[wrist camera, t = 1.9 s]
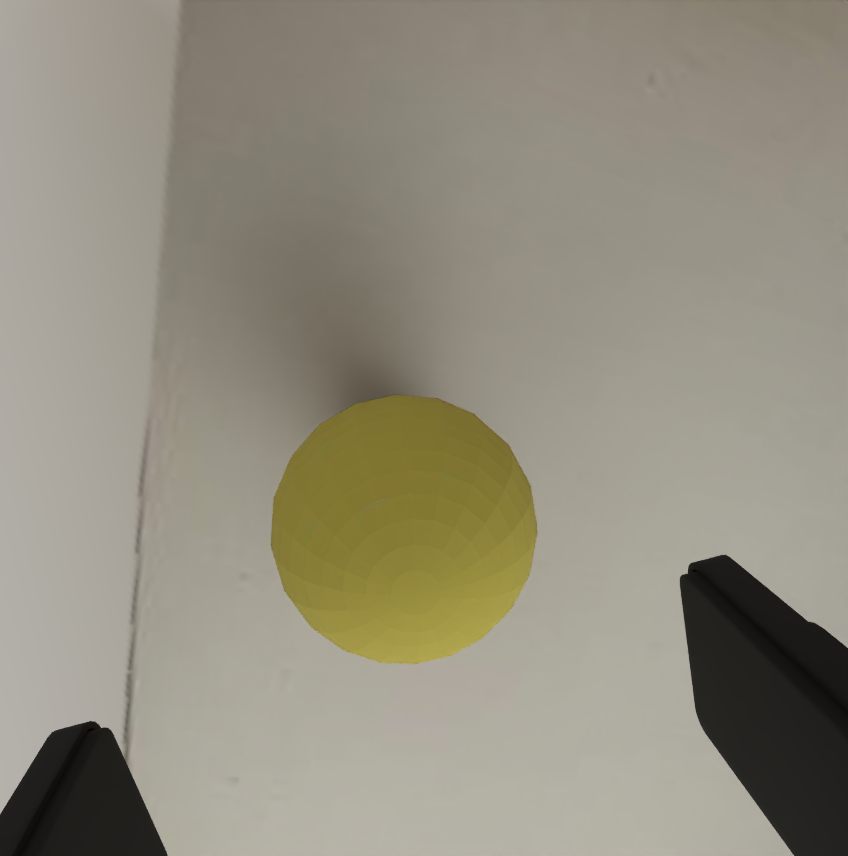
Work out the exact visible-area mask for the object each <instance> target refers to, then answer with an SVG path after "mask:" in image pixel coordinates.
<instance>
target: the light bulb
mask: <svg viewBox="0 0 848 856" xmlns="http://www.w3.org/2000/svg"><path fill="white" fill-rule="evenodd" d="M536 537H537V523H536V516H535V510H534V504H533V498H532V492H531V486H530V484H529V482H528V480H527V477H526V476H525V474H524V472H523V470H522V468H521V467H520V465H519V463H518V461H517V459H516V458H515V456H514V454H513V452H512V450H511V449H510V447H509V445H508V444H507V443H506V442H505V441H504V440H503V439H502V438H500V437H499V436H498V435H497V434H496V433H495V432H494V431H493V430H491V429H490V428H489V427H488V426H487V425H486V424H485V423H484V422H482V421H481V420H480V419H479V418H478V417H477V416H476V415H475V414H473V413H470V412H468V411H466V410H463V409H461V408H459V407H456V406H454V405H452V404H449V403H447V402H445V401H442V400H440V399H438V398H427V397H416V396H405V395H393V396H388V397H384V398H379V399H375V400H370V401H366V402H361V403H357V404H354V405H353V406H351V407H349V408H347V409H346V410H344V411H342V412H340V413H339V414H337V415H335V416H334V417H332V418H330V419H328V420H327V421H325V422H323V423H321V424H320V425H319V426H318V427H317V428H316V429H315V430H314V432H313V433H312V434H311V435H310V436H309V437H308V438H307V439H306V440H305V442H304V443H303V444H302V445H301V446H300V447H299V448H298V449H297V451H296V452H295V453H294V454H293V455H292V457H291V459H290V461H289V463H288V465H287V468H286V470H285V473H284V475H283V477H282V480H281V482H280V484H279V487H278V489H277V491H276V494H275V496H274V502H273V516H272V534H271V547H272V551H273V555H274V558H275V561H276V565H277V568H278V571H279V575H280V578H281V581H282V585H283V588H284V591H285V592H286V594H287V595H288V596H289V598H290V599H291V600H292V602H293V603H294V605H295V606H296V607H297V609H298V610H299V611H300V613H301V614H302V615H303V617H304V618H305V619H306V621H307V622H308V623H309V625H310V626H311V627H312V628H313V629H314V630H316V631H317V632H318V633H320V634H321V635H323V636H324V637H326V638H327V639H328V640H330V641H331V642H333V643H334V644H335V645H337V646H338V647H340V648H341V649H343V650H345V651H347V652H350V653H353V654H356V655H359V656H362V657H365V658H368V659H371V660H374V661H377V662H381V663H407V664H417V663H422V662H426V661H430V660H434V659H439V658H443V657H447V656H451V655H453V654H455V653H456V652H458V651H460V650H462V649H464V648H466V647H467V646H469V645H471V644H473V643H475V642H477V641H478V640H480V639H482V638H483V637H484V636H485V635H486V634H487V633H488V632H489V631H490V630H491V629H492V628H493V627H494V626H495V625H496V624H497V623H498V622H499V621H500V620H501V619H502V618H503V617H504V616H505V615H506V614H507V613H508V612H509V611H510V610H511V608H512V606H513V605H514V603H515V601H516V599H517V597H518V595H519V593H520V592H521V590H522V588H523V586H524V584H525V582H526V581H527V579H528V576H529V573H530V570H531V565H532V559H533V554H534V548H535V543H536Z"/></svg>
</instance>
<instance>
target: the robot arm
mask: <svg viewBox="0 0 848 856" xmlns="http://www.w3.org/2000/svg"><path fill="white" fill-rule="evenodd" d="M680 589H681V597H682V605H683V613H684V621H685V629H686V637H687V645H688V653H689V661H690V669H691V677H692V685H693V693H694V701H695V708H696V713H697V716H698V719H699V722H700V724H701V726H702V728H703V730H704V732H705V733H706V735H707V736H708V737H709V739H710V740H711V742H712V743H713V744H714V746H715V747H716V748H717V750H718V751H719V753H720V754H721V755H722V757H723V758H724V759H725V761H726V762H727V764H728V765H729V766H730V768H731V769H732V771H733V772H734V773H735V775H736V776H737V777H738V779H739V780H740V782H741V783H742V784H743V786H744V787H745V788H746V790H747V791H748V793H749V794H750V795H751V797H752V798H753V799H754V801H755V802H756V804H757V805H758V806H759V808H760V809H761V810H762V812H763V813H764V815H765V816H766V817H767V819H768V820H769V822H770V823H771V824H772V826H773V827H774V828H775V830H776V831H777V833H778V834H779V835H780V837H781V838H782V839H783V841H784V842H785V844H786V845H787V846H788V848H789V849H790V850H791V852H792V853H793V855H794V856H848V648H847V647H846V646H844V645H843V644H842V643H841V642H839V641H838V640H837V639H836V638H834V637H833V636H832V635H831V634H830V633H828V632H827V631H826V630H825V629H823V628H822V627H820V626H819V625H817V624H815V623H812V622H808V621H807V620H805V619H804V618H803V617H802V616H801V615H799V614H798V613H797V612H796V611H795V610H793V609H792V608H791V607H790V606H788V605H787V604H786V603H785V602H784V601H782V600H781V599H780V598H779V597H778V596H776V595H775V594H774V593H773V592H771V591H770V590H769V589H768V588H767V587H765V586H764V585H763V584H762V583H761V582H759V581H758V580H757V579H756V578H754V577H753V576H752V575H751V574H750V573H748V572H747V571H746V570H745V569H744V568H742V567H741V566H740V565H739V564H738V563H736V562H735V561H734V560H733V559H731V558H730V557H728V556H727V555H720V556H717V557H713V558H709V559H705V560H701V561H698V562H694V563H691V564H690V565H689V567H688V574H684V575H682V576H681V577H680ZM0 856H167V853H166V850H165V848H164V846H163V843H162V841H161V839H160V837H159V835H158V832H157V830H156V828H155V826H154V823H153V821H152V819H151V817H150V815H149V812H148V810H147V808H146V806H145V803H144V801H143V799H142V797H141V795H140V792H139V790H138V788H137V786H136V784H135V781H134V779H133V777H132V775H131V772H130V770H129V768H128V766H127V764H126V761H125V759H124V757H123V755H122V752H121V750H120V748H119V746H118V744H117V741H116V739H115V737H114V735H113V733H112V731H111V730H110V729H109V728H101V727H100V726H99V725H98V724H97V723H96V722H92V721H89V722H86V723H82V724H78V725H74V726H70V727H67V728H63V729H59V730H56V731H54V732H52V733H51V734H50V736H49V737H48V738H47V740H46V741H45V743H44V744H43V746H42V748H41V749H40V751H39V752H38V754H37V756H36V757H35V759H34V761H33V762H32V764H31V765H30V767H29V769H28V770H27V772H26V774H25V775H24V777H23V778H22V780H21V782H20V783H19V785H18V787H17V788H16V790H15V791H14V793H13V795H12V796H11V798H10V800H9V801H8V803H7V805H6V806H5V808H4V809H3V811H2V812H1V814H0Z"/></svg>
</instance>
